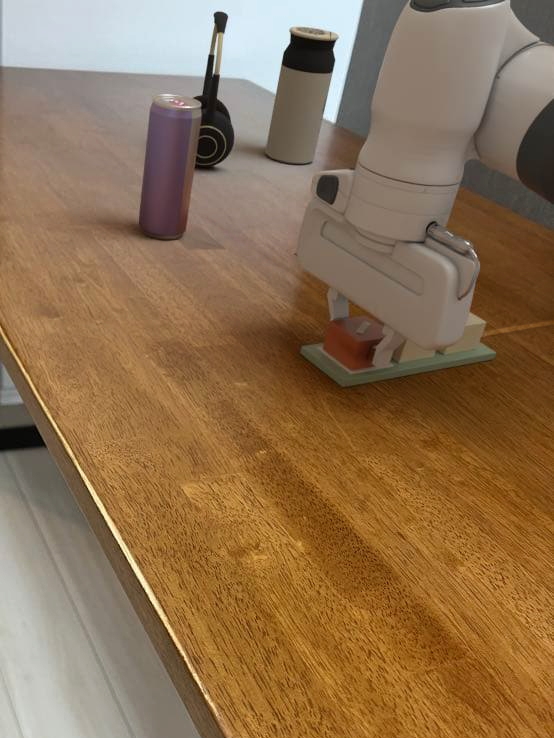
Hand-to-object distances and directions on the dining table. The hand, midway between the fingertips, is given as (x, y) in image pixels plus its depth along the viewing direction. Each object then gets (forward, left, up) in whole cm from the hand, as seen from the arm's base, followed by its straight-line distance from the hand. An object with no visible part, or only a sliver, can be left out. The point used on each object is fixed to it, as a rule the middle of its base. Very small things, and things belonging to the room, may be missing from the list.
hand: (356, 349), depth 83 cm
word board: (-6, 0, -2) cm, 6 cm away
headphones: (-19, -62, -2) cm, 65 cm away
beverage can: (+2, -36, -2) cm, 36 cm away
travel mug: (-36, -62, -2) cm, 72 cm away
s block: (0, 0, -1) cm, 1 cm away
